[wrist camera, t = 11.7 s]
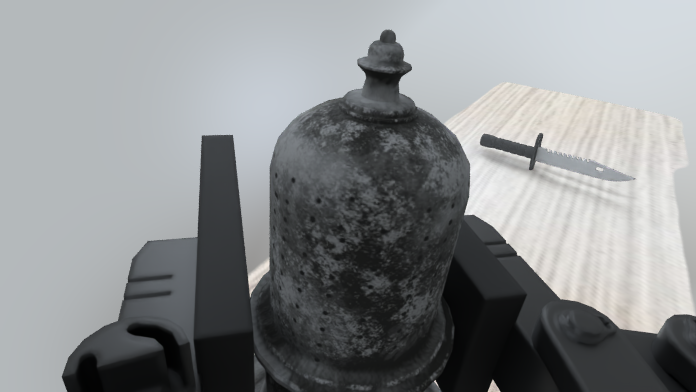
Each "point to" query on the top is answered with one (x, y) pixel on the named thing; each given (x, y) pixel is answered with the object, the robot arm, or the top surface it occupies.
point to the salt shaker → (360, 242)
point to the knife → (553, 158)
